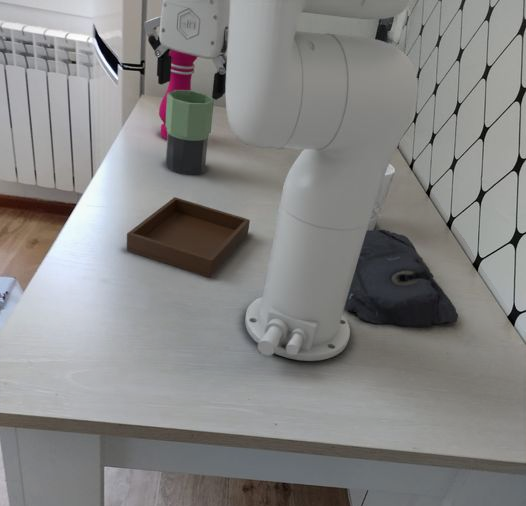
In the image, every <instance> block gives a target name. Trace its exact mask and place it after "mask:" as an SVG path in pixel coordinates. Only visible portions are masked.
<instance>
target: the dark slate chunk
mask: <svg viewBox="0 0 526 506" xmlns="http://www.w3.org/2000/svg"><path fill="white" fill-rule="evenodd" d="M344 310H347V311H349V312H350V313H352V314H356V315H357V316H358V317H359V320H360V321H362V322H364V323H365V322H369V323H370V324H378V325H383V324H390V325H395V326H404V327H413V328H424V327H429V326H430V325H436V326H438V325H439V324H444V323H445V322H446V323H447V322H448V323H457V322H458V319H459V313H458V312H457V310H456V307H455V306H454V304H453V303H452V300H451V299H450V298H449V296H448V295H447V294H446V293H445V292H444V290H443V289H442V287H441V286H440V285H439V284H438V283H437V281H436V280H435V279H434V275H433V273H432V272H431V269H430V268H429V267H428V266H427V264H426V262H425V261H424V260H423V257H421V255H420V254H419V253H418V252H417V249H416V247H415V246H414V243H413V242H412V241H411V239H410V238H409V237H408V236H406V235H405V234H401V233H396V232H393V231H392V232H391V231H390V230H387V229H383V228H382V229H380V228H378V229H373V230H369V231H366V235H365V238H364V242H363V245H362V248H361V252H360V255H359V259H358V262H357V266H356V269H355V272H354V276H353V279H352V283H351V286H350V290H349V293H348V296H347V300H346V303H345V307H344Z"/></svg>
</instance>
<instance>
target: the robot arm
mask: <svg viewBox="0 0 526 506" xmlns="http://www.w3.org/2000/svg"><path fill="white" fill-rule="evenodd" d="M412 2H413V0H162V6H161V12H160V16H157V17H154V18H152V19H148V20H146V21H144V22H143V28H144V30H145V33H146V36H147V38H148V39H147V41H148V43H149V45H150V47H151V49H152V50H153V51H154V55H155V57H156V58H157V63H156V65H157V66H156V76H157V77H158V78H157V83H158V85H162V86H163V85H165V84H167V83H169V81H170V78H171V61H172V58H171V56H170V55H169V52H170V51H171V50H175V51H178V52H182V53H186V54H189V55H193V56H197V58H200V59H201V58H202V59H206V60H212V62H213V64H214V66H215V68H216V71H217V72H215V73H214V75H213V84H212V93H211V98H212V99H213V100H214V101H217V100H219V99H221V98H222V97H223V96H224V95H225V108H226V109H225V110H226V111H225V112H226V117H227V121H228V125H229V127H230V129H231V131H232V133H233V135H234V136H235V137H236V138H237V140H239V141H240V142H241V143H243V144H245V145H247V146H250V147H254V148H260V149H261V148H262V149H276V150H302V151H301V152H300V153H299V155H298V157H297V158H296V159H295V161H294V162H293V164H292V166H291V167H290V169H289V171H288V173H287V175H286V177H285V180H284V183H283V187H282V190H281V195H280V199H279V204H278V205H279V206H278V212H277V216H276V221H275V227H274V232H273V237H272V243H271V249H270V253H269V258H268V265H267V270H266V275H265V281H264V287H263V291H262V296H260V297H258V298H256V299H254V300H253V301H251V302H250V304H249V305H248V307H247V309H246V312H245V316H244V317H245V319H244V325H245V328H246V330H247V333H248V334H249V336H250V337H251V338H252V340H253V341H254V342H255V343H257V349H258V352H259V353H260V354H261V355H263V356H265V357H269V356H272V355H274V354H275V355H278V356H279V357H284V358H285V359H290V360H295V361H303V362H315V361H323V360H327V359H331V358H333V357H335V356H338V355H339V354H340V353H342V352H343V351H344V350H345V349H346V347H347V345H348V343H349V340H350V337H351V336H350V334H351V329H350V325H349V322H348V321H347V319H346V318H345V315H343V313H344V311H345V308H344V307H345V303H346V300H347V296H348V293H349V290H350V286H351V283H352V279H353V276H354V272H355V269H356V266H357V262H358V259H359V255H360V252H361V248H362V245H363V242H364V238H365V235H366V231H367V228H368V224H369V221H370V219H371V215H372V212H373V208H374V205H375V202H376V199H377V195H378V192H379V189H380V186H381V183H382V181H383V178H384V175H385V173H386V170H387V168H388V165H389V164H390V163H391V161H392V158H393V156H394V154H395V153H396V151H397V149H398V147H399V145H400V143H401V142H402V139H403V137H404V135H405V134H406V132H407V130H408V127H409V125H410V123H411V120H412V117H413V114H414V111H415V108H416V105H417V100H418V91H419V85H418V77H417V76H418V75H417V72H416V69H415V66H414V65H413V63H412V61H411V59H410V58H409V57H408V56H407V54H406V53H405V52H403V51H402V50H401V49H400V48H398V47H397V46H395V45H393V44H392V43H389V42H386V41H383V40H380V39H376V38H372V37H371V38H370V37H364V36H357V35H346V34H336V33H327V32H326V33H319V32H307V31H298V30H297V27H298V22H299V19H300V16H301V14H302V13H305V14H306V13H308V14H314V15H323V16H332V17H340V18H347V19H348V18H349V19H358V20H387V19H391V18H394V17H397V16H398V15H400V14H402V13H403V12H404V11H405V10H406V9H407V8H409V6H410V5H411V3H412ZM157 28H159V35H158V32H157Z"/></svg>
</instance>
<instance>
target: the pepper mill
mask: <svg viewBox="0 0 526 506" xmlns="http://www.w3.org/2000/svg"><path fill="white" fill-rule="evenodd" d="M169 55H170V56H171V58H172V61H171V78H170V81H169V82H168V86H167V89H166V91H165V94H164V96H163V98H162V99H161V102H160V105H159V107H158V108H159V109H158V115H159V118H160V120H161V122H162V124H161V125H160V136H161V137H162V138H163V139H165V140H167V128H166V127H165V125H166V107H167V93H169V92H172V91H174V90H191V91H192V88H191V87H192V76H193V75H194V73H195V67H196V65H195V64H194V62H195V61H196V60H197V59H198V57H197V56H193V55H189V54H186V53H182V52H178V51H175V50H171V51H170V52H169Z"/></svg>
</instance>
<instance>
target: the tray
mask: <svg viewBox="0 0 526 506" xmlns="http://www.w3.org/2000/svg"><path fill="white" fill-rule="evenodd" d="M250 222H251V220H250V219H248V218H245V217H242V216H238V215H235V214H232V213H229V212H225V211H222V210H219V209H215V208H212V207H209V206H205V205H203V204H199V203H195V202H193V201H189V200H186V199H181V198H178V197H172V198H171V199H170V200H168V201H167V202H166V203H165V204H164V205H162V206H161V207H160V208H158V209H157V210H156V211H155V212H153V213H152V214H151V215H149V216H148V217H147V218H145V219H143V221H141V222H140V223H139V224H138V225H136V226H135V227H134V228H132V229H131V230H130V231H129V232H126V251H127V252H130V253H133V254H136V255H138V256H142V257H145V258H148V259H151V260H154V261H158V262H161V263H163V264H167V265H169V266H173V267H176V268H179V269H182V270H185V271H188V272H192V273H194V274H198V275H200V276H204V277H207V278H212V276H213V275H214V274H215V273H216V272H217V271H218V270H219V268H220V267H221V266H223V264H224V263H225V262H226V261H227V259H228V258H229V257H230V256H231V255H232V254H233V252H235V250H236V249H237V248H238V247H239V246H240V245H241V244H242V242H243V241H244V240H246V238H247V237H248V234H249V230H250V229H249V228H250V224H251V223H250Z"/></svg>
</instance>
